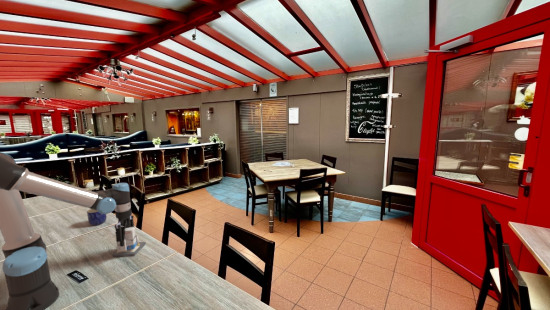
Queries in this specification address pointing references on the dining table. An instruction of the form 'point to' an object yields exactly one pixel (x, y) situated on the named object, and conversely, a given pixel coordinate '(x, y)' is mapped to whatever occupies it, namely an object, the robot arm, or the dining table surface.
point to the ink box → (129, 239)
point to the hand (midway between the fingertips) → (127, 247)
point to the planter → (96, 217)
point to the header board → (132, 251)
